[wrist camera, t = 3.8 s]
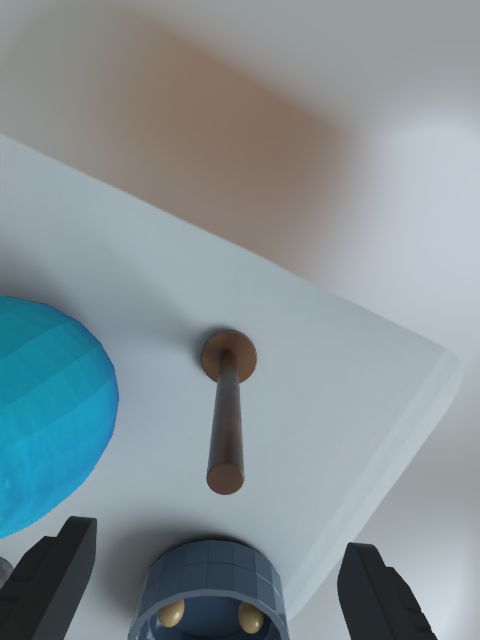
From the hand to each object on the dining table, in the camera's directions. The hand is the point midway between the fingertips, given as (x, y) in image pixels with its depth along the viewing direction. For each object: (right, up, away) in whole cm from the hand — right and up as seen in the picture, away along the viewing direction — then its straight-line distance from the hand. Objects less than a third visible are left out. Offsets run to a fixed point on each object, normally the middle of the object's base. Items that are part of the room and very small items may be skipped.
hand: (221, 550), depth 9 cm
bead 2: (+2, -24, +22) cm, 33 cm away
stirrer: (0, +4, +17) cm, 18 cm away
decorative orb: (-16, +3, +17) cm, 24 cm away
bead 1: (-7, -23, +21) cm, 32 cm away
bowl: (-3, -23, +24) cm, 33 cm away
